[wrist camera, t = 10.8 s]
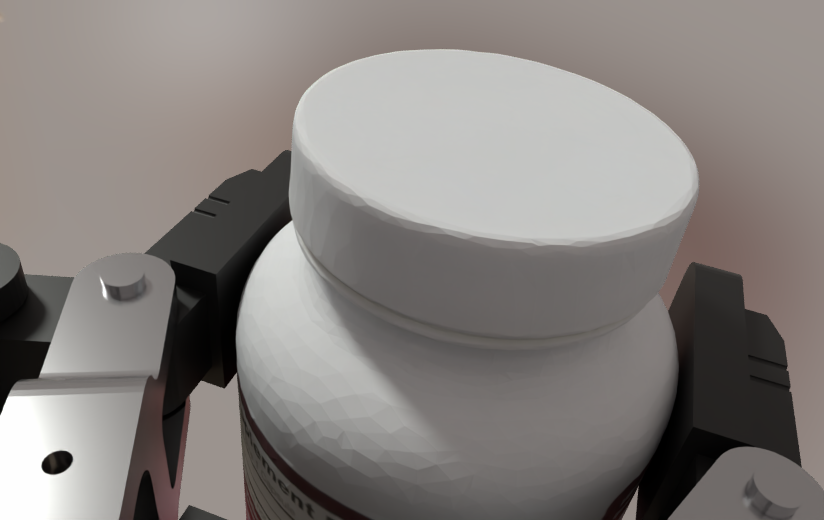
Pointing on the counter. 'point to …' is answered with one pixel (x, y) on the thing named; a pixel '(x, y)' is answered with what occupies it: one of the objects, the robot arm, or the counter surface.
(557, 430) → the pill bottle
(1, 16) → the counter surface
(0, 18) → the counter surface
